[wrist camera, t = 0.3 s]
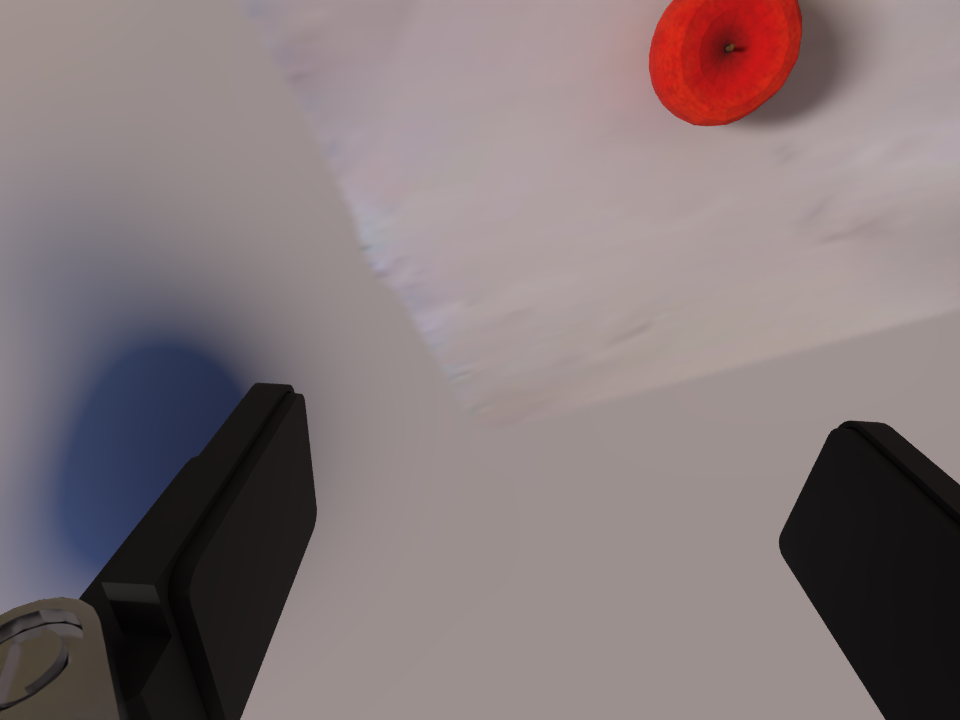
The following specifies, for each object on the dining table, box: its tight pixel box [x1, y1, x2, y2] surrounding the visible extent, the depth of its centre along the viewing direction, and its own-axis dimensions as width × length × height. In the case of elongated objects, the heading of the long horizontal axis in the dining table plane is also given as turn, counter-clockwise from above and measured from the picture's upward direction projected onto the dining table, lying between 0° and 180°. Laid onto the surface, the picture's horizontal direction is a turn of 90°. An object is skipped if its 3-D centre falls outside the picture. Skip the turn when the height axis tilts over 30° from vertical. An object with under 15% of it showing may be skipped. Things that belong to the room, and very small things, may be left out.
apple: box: [649, 0, 802, 126], centre depth 34 cm, size 9×9×8 cm
